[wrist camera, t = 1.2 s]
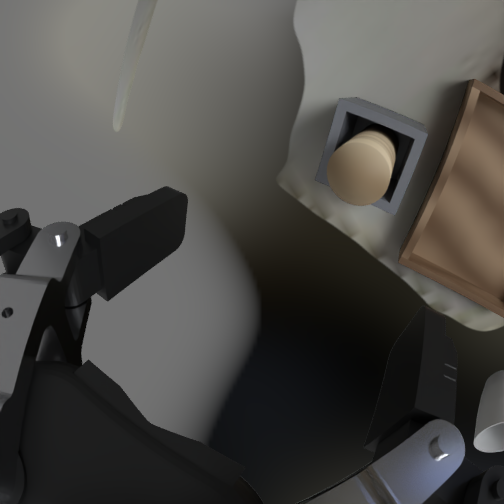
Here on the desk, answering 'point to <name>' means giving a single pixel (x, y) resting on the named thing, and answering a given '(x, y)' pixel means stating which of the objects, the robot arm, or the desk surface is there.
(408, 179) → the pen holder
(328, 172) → the dowel
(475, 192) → the tray
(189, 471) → the robot arm
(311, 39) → the desk surface
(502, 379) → the cup
